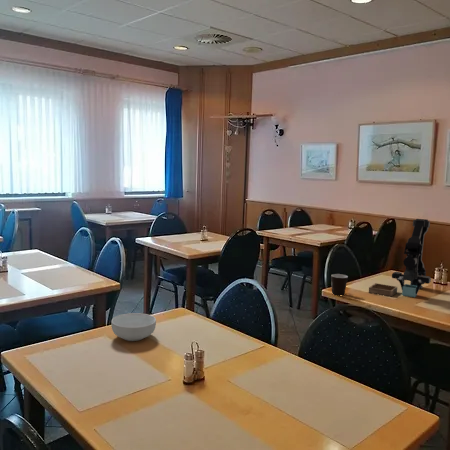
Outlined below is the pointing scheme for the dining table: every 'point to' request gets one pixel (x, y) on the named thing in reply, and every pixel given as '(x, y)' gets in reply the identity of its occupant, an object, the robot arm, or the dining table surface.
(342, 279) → the dark brown cup
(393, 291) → the walnut crate
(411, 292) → the small crate
